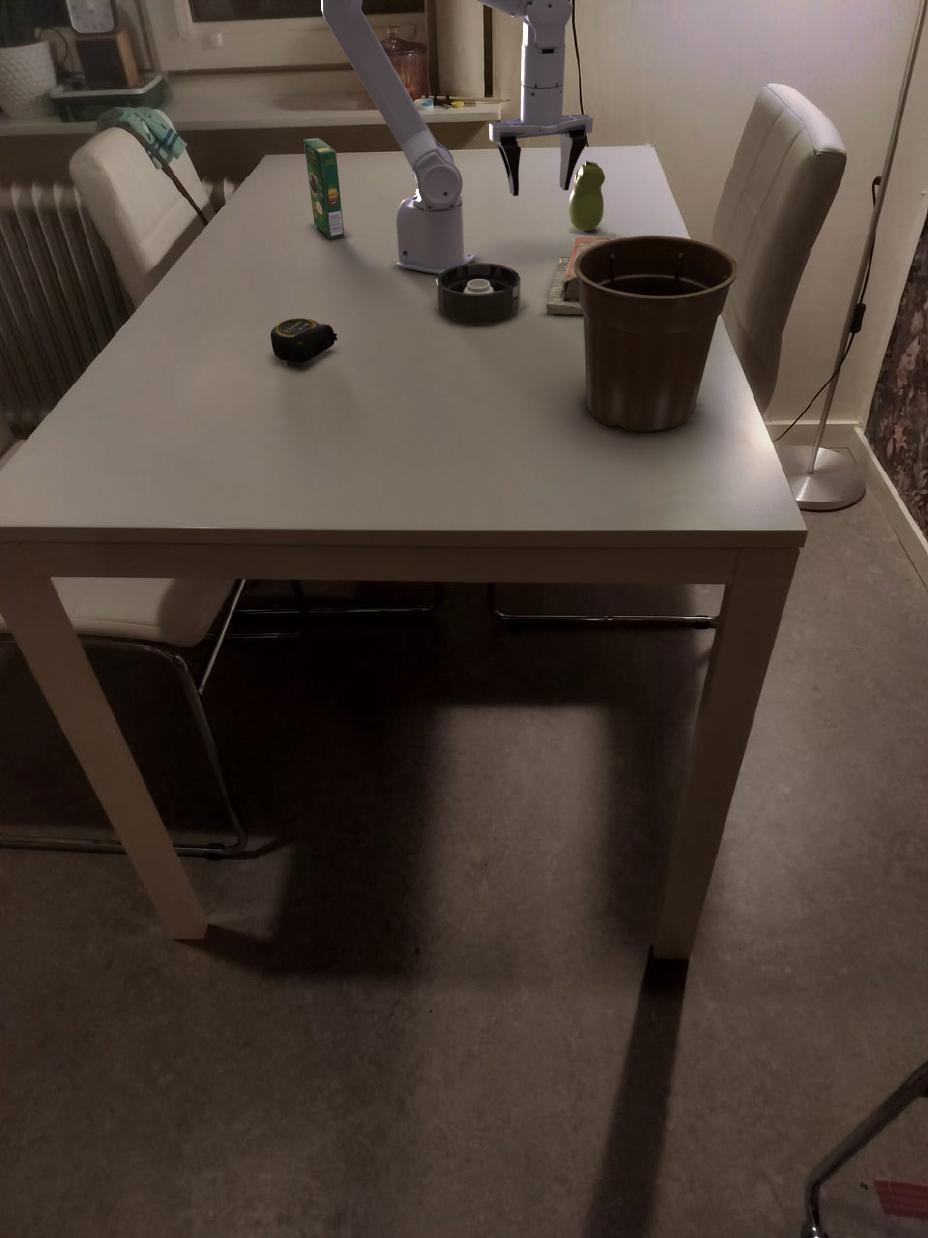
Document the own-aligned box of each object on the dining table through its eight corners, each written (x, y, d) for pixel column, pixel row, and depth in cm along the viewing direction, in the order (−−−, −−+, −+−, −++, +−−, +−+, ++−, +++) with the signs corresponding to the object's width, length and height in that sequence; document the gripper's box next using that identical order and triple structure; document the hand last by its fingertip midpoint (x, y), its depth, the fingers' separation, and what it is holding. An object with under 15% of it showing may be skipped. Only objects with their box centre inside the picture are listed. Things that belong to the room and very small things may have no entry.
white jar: (453, 305, 120) (480, 315, 117) (452, 284, 118) (480, 293, 115) (477, 294, 122) (504, 303, 120) (477, 273, 120) (504, 282, 118)
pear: (594, 221, 144) (598, 155, 138) (607, 232, 141) (613, 164, 134) (562, 226, 143) (566, 159, 136) (576, 237, 139) (579, 169, 133)
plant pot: (612, 458, 91) (628, 307, 80) (541, 391, 102) (546, 250, 91) (741, 423, 96) (772, 276, 85) (659, 362, 107) (678, 225, 96)
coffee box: (346, 237, 142) (336, 148, 133) (330, 240, 141) (318, 151, 133) (330, 222, 148) (319, 136, 139) (313, 225, 147) (302, 139, 138)
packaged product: (561, 232, 128) (630, 235, 126) (559, 265, 131) (626, 268, 129) (546, 279, 115) (623, 283, 113) (545, 315, 118) (619, 319, 116)
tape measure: (304, 372, 107) (299, 344, 105) (262, 360, 110) (257, 331, 108) (339, 351, 112) (335, 323, 109) (298, 339, 114) (294, 311, 112)
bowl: (423, 317, 118) (421, 286, 116) (462, 287, 126) (461, 257, 123) (496, 332, 114) (496, 301, 112) (533, 301, 122) (534, 270, 119)
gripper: (499, 94, 114) (499, 204, 123) (603, 85, 117) (595, 193, 126) (484, 83, 119) (485, 189, 128) (585, 74, 122) (579, 179, 131)
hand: (539, 191), depth 127 cm, fingers open, 7 cm apart
